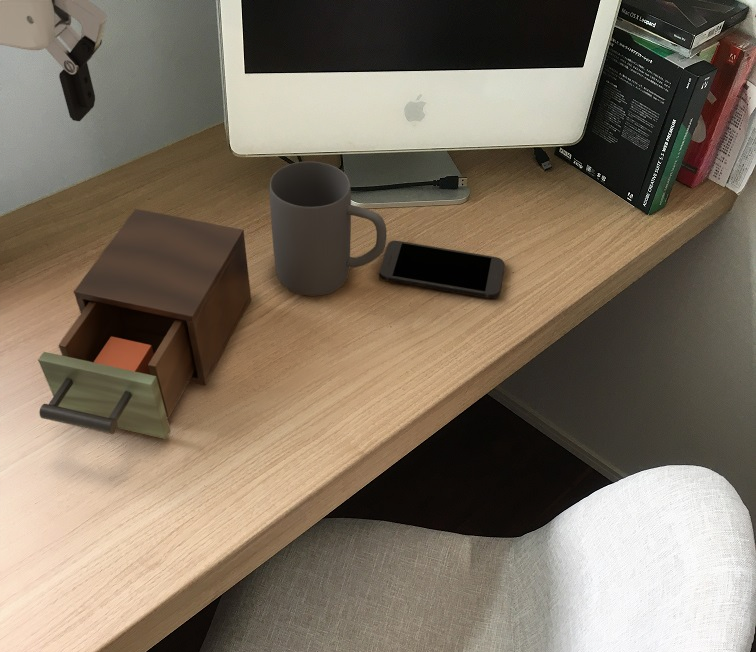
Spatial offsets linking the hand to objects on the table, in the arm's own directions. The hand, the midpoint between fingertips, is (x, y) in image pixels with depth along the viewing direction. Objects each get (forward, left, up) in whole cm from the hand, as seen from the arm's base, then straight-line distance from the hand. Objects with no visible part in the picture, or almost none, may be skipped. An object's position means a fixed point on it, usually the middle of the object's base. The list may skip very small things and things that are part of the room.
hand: (31, 102), depth 68 cm
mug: (+22, +16, -26) cm, 38 cm away
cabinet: (+8, +2, -26) cm, 27 cm away
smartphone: (+35, +21, -26) cm, 48 cm away
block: (+8, -9, -24) cm, 27 cm away
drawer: (+8, -10, -25) cm, 28 cm away
